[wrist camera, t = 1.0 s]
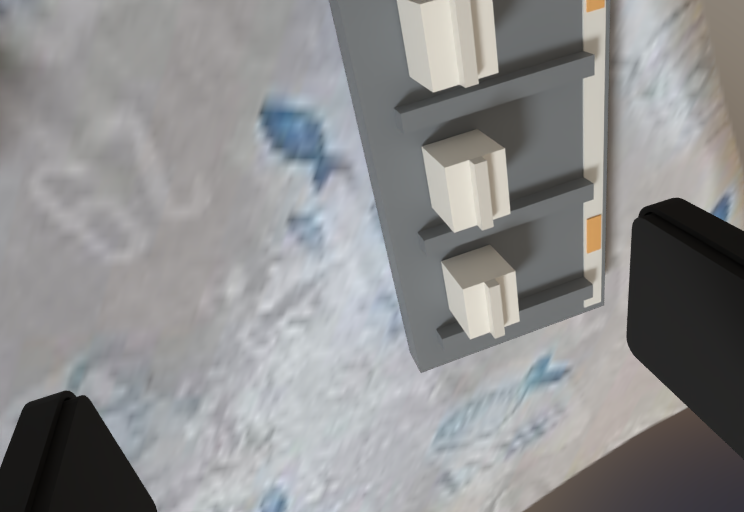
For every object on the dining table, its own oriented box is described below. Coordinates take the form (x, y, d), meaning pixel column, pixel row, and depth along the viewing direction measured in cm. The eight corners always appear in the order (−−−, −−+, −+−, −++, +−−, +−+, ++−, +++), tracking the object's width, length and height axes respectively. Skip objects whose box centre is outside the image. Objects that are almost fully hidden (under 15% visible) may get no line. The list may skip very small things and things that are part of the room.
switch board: (305, -103, 24) (319, -106, 21) (585, -173, 25) (629, -183, 23) (410, 353, 38) (426, 383, 35) (586, 289, 39) (613, 313, 37)
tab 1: (396, -4, 25) (425, 6, 22) (460, -22, 25) (498, -15, 22) (409, 76, 26) (438, 96, 23) (469, 59, 27) (505, 75, 24)
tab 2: (421, 146, 28) (449, 172, 25) (477, 128, 29) (511, 152, 26) (431, 207, 30) (459, 238, 27) (484, 190, 31) (516, 219, 28)
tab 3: (441, 261, 32) (467, 295, 29) (489, 244, 32) (521, 276, 29) (449, 309, 34) (474, 346, 31) (495, 292, 34) (525, 327, 31)
